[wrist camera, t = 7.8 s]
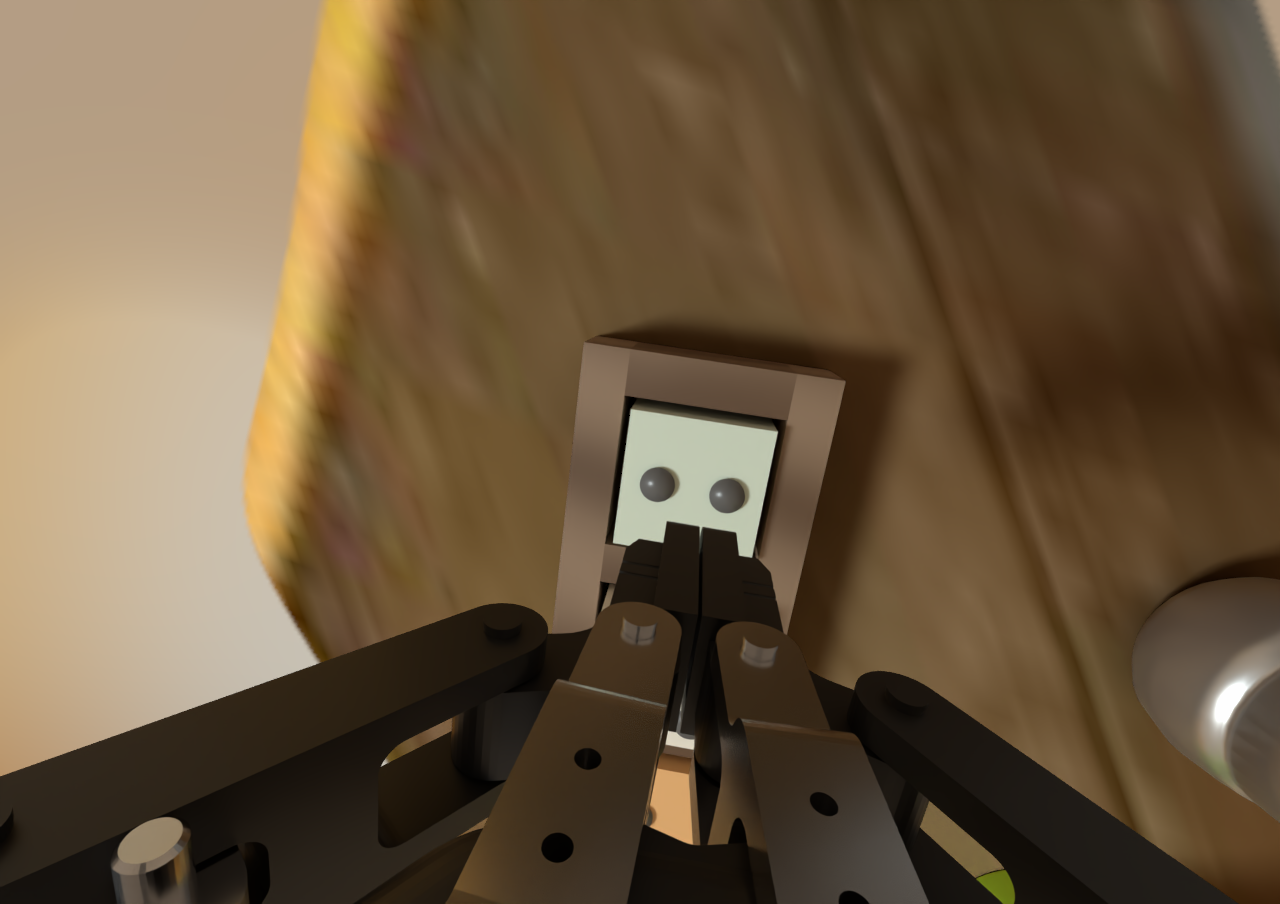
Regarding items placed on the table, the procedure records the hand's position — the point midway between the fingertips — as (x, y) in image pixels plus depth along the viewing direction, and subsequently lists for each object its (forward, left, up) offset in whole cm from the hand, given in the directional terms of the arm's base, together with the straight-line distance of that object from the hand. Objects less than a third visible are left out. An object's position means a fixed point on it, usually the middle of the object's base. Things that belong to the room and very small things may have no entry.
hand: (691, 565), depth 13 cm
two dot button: (0, 0, -10) cm, 10 cm away
